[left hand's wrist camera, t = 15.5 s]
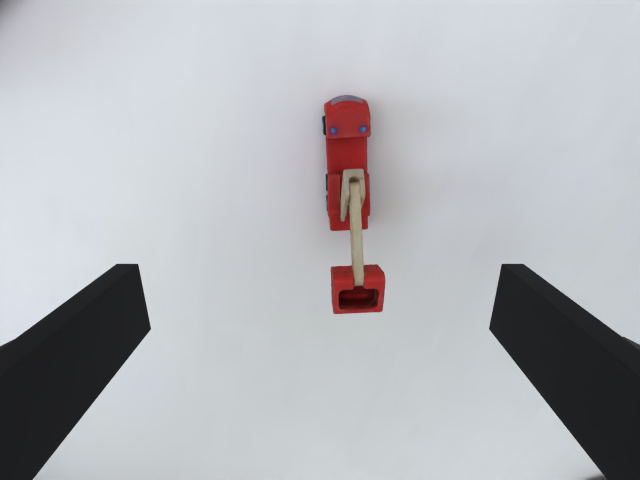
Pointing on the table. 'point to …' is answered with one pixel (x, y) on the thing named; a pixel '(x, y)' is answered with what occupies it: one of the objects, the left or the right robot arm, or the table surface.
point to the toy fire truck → (350, 203)
